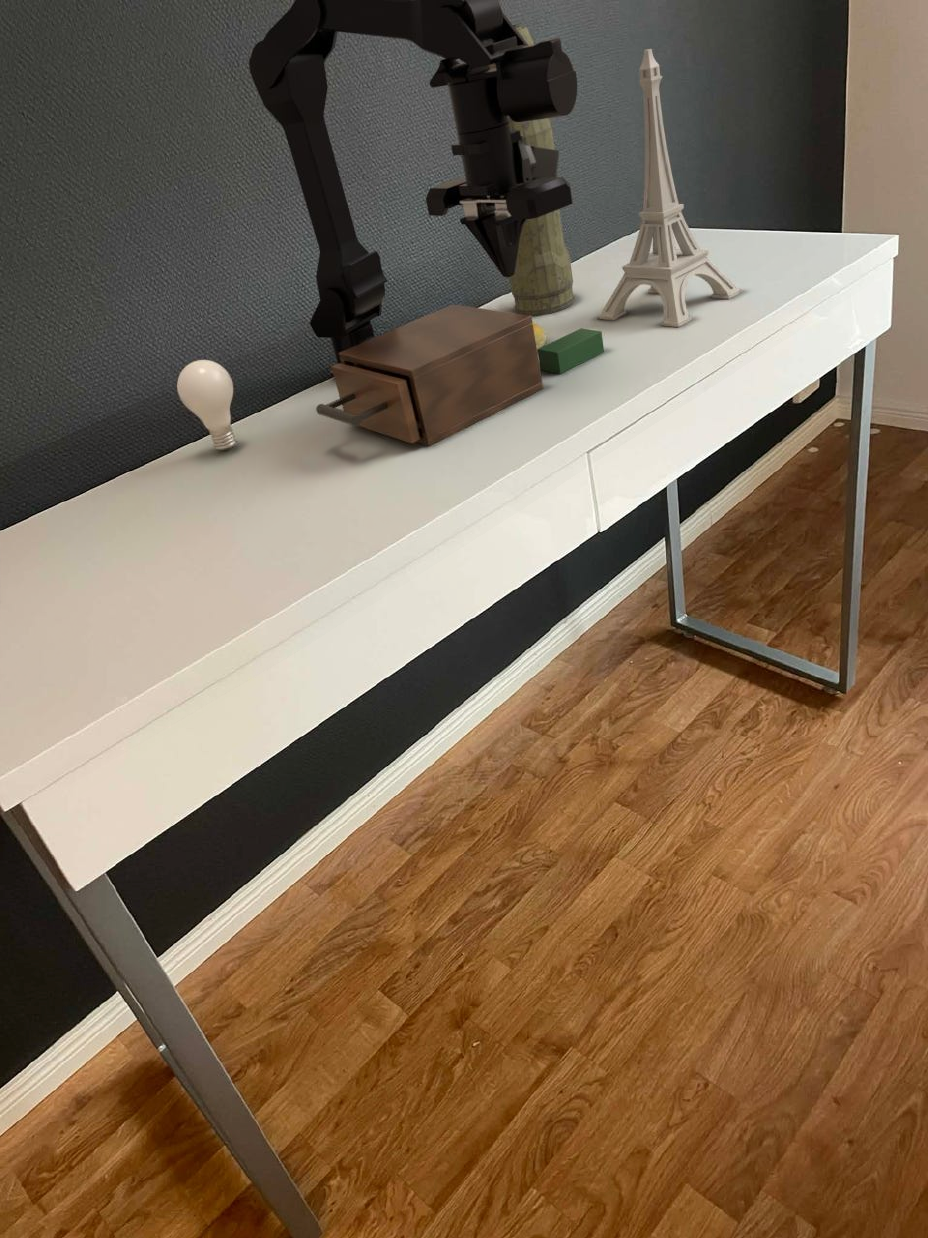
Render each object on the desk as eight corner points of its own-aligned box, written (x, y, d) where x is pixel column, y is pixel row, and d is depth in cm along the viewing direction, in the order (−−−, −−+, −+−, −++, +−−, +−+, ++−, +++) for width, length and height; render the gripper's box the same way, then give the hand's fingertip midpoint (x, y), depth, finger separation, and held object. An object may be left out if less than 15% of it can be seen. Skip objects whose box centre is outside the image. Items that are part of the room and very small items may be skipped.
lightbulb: (209, 465, 113) (175, 376, 107) (196, 451, 118) (163, 364, 112) (259, 447, 115) (229, 358, 109) (245, 433, 120) (215, 347, 114)
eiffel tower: (598, 318, 130) (567, 67, 114) (660, 286, 136) (639, 44, 120) (678, 326, 121) (657, 55, 104) (741, 292, 127) (730, 30, 111)
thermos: (592, 291, 141) (557, 14, 122) (549, 319, 134) (505, 29, 115) (541, 291, 146) (500, 26, 127) (498, 318, 139) (447, 41, 120)
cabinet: (429, 446, 105) (411, 370, 100) (357, 422, 115) (338, 352, 111) (543, 388, 112) (531, 315, 108) (466, 371, 123) (452, 303, 118)
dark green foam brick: (560, 373, 115) (557, 352, 114) (540, 369, 118) (536, 348, 116) (604, 351, 119) (601, 331, 117) (583, 348, 121) (580, 327, 120)
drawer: (376, 461, 102) (359, 401, 98) (312, 437, 111) (295, 381, 108) (521, 389, 111) (511, 331, 107) (450, 372, 121) (439, 319, 117)
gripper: (599, 103, 99) (616, 258, 107) (485, 113, 112) (508, 250, 121) (519, 130, 94) (544, 291, 102) (410, 137, 107) (439, 279, 116)
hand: (508, 276), depth 111 cm, fingers closed
